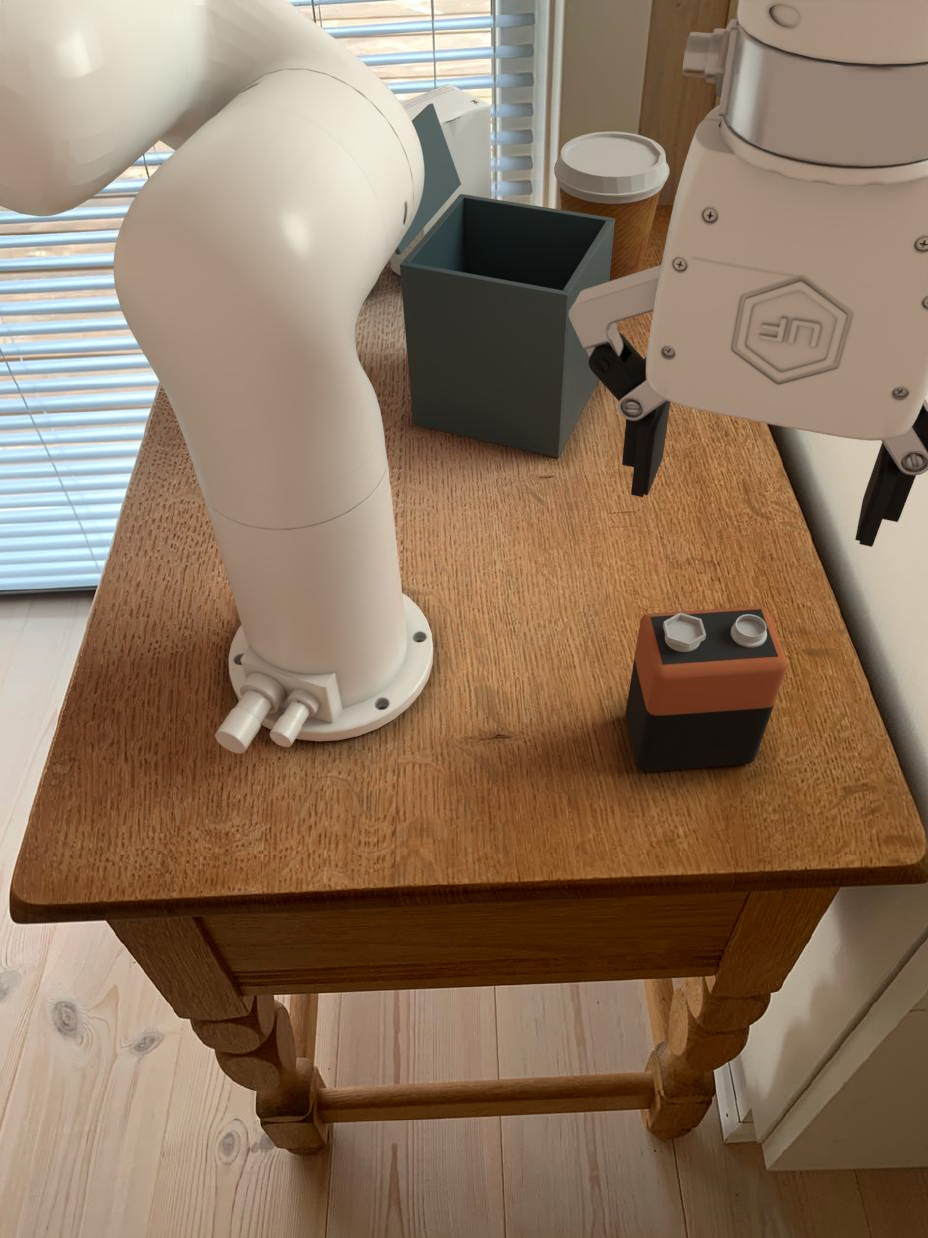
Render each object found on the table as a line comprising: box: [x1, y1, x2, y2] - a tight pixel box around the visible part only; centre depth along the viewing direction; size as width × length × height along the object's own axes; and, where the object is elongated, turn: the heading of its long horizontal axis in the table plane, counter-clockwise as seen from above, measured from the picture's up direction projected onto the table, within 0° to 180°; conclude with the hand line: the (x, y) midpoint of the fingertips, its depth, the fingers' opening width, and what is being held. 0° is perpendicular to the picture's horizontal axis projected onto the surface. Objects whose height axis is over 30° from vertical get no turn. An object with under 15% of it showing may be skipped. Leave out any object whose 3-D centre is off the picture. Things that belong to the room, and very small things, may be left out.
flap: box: [395, 103, 461, 255], centre depth 68 cm, size 6×11×1 cm
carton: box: [400, 194, 615, 459], centre depth 74 cm, size 12×11×14 cm
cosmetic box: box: [389, 83, 493, 277], centre depth 87 cm, size 8×6×15 cm
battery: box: [625, 605, 789, 772], centre depth 53 cm, size 4×7×10 cm, turn 94°
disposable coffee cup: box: [553, 131, 670, 281], centre depth 85 cm, size 10×10×12 cm
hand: (753, 500), depth 43 cm, fingers open, 9 cm apart
